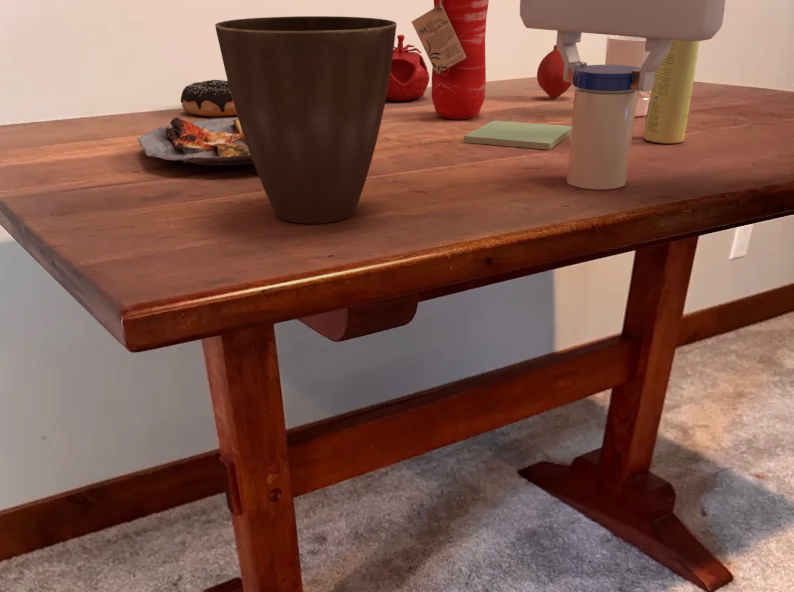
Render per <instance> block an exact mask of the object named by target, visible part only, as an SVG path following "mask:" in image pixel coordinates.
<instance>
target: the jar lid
mask: <svg viewBox="0 0 794 592" xmlns="http://www.w3.org/2000/svg"><path fill="white" fill-rule="evenodd" d="M638 69H640V68H638V67H633V66H625V65H605V64H587V66H580V67H577V68H575V72H574V75H573V83H572V85H573V87H575V88H581V89H587V90H598V91H623V90H631V89H630V82H631V81H632V80H631V72H632V70H638Z"/></svg>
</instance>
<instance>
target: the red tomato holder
mask: <svg viewBox="0 0 794 592" xmlns="http://www.w3.org/2000/svg"><path fill="white" fill-rule="evenodd" d="M396 37H397V46H394V50H393V58H392V65H391V72H390V78H389V85H388V90H387V95H386V101H389V102H407V101H412V100H418V99H420V98H422V97H423V96H424V94H425V92H426V91H427V88H428V85H429V82H430V73H429V70H428V67H427V64H426V62H425V59H424V57H423V56H422V55H421V54H422V53H423V51H420V50H419V48H416V47H415V44H413V45H412V44H406V45H405V46H404V41H405V35H404V34H399V35H396ZM409 48H411V49H409Z"/></svg>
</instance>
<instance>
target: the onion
mask: <svg viewBox="0 0 794 592" xmlns="http://www.w3.org/2000/svg"><path fill="white" fill-rule="evenodd" d="M536 72H537V73H536V80H537V83H538V86H539V87H540V88H541V89H542V90H543V92H545V94H546V95H547V96H548V97H549V98H550V99H552V100H555V99H556V100H557V99H558V98H559V97H561V95H563V94H565V93H566V92H567V91H568V90H569V89H570V87H571V86H572V85H573V82H566V81H564V80H563V74H564V62H563V60H562V57H561V54H560V52H559V49H558V46H557V44H554V45H553V50H552V51H549V52H548V53H547V54H546V55H545V56H544V57H543V58H542V59H541V61H540V63H539V64H538V67H537V71H536Z"/></svg>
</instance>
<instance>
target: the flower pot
mask: <svg viewBox="0 0 794 592" xmlns="http://www.w3.org/2000/svg"><path fill="white" fill-rule="evenodd" d="M397 25H398V24H397V22H396V21H394V20H390V19H384V18H377V17H375V18H374V17H361V16H337V15H336V16H333V15H332V16H331V15H329V16H327V15H303V16H302V15H299V16H293V15H292V16H269V17H268V16H267V17H249V18H248V17H247V18H238V19H231V20H224V21H219V22H216V23H215V24H214V28H215V31H216V36H217V40H218V45H219V49H220V54H221V58H222V63H223V67H224V72H225V76H226V81H228V84H229V88H230V92H231V95H232V99H233V102H234V106H235V109H236V113H237V115H236V117H238V119H239V122H240V126H241V129H242V132H243V135H244V138H245V141H246V143H247V146H248V149H249V152H250V155H251V157H252V160H253V165H254V167H255V171H256V172H257V175H258V178H259V181H260V183H261V186H262V187H263V190H264V192H265V194H266V197H267V199H268V201H269V203H270V205H271V208H272V210H273V212H274V214H275V215H276V217H277V218H279V219H281V220H284V221H287V222H291V223H298V224H309V225H310V224H311V225H313V224H315V225H316V224H328V223H334V222H339V221H343V220H346V219H348V218H350V217H352V216H353V215H354V214H355V212H356V210H357V208H358V204H359V202H360V199H361V195H362V193H363V190H364V187H365V184H366V180H367V177H368V174H369V170H370V167H371V163H372V160H373V157H374V153H375V149H376V145H377V141H378V137H379V133H380V130H381V125H382V120H383V115H384V110H385V105H386V101H387V100H386V95H387V90H388V85H389V78H390V72H391V65H392V58H393V50H394V47H395V40H396V33H397ZM345 218H346V219H345Z"/></svg>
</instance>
